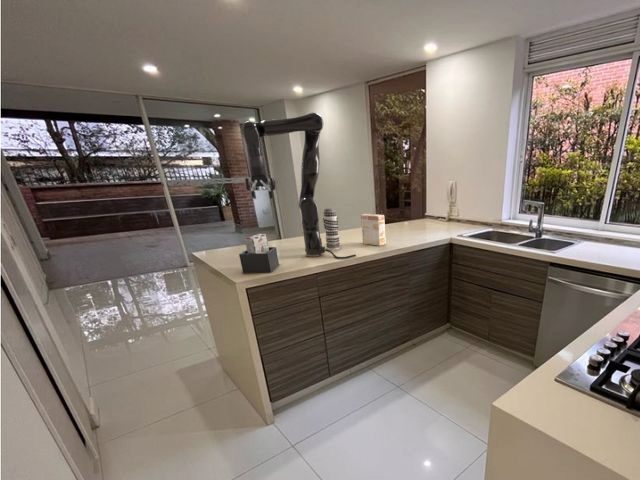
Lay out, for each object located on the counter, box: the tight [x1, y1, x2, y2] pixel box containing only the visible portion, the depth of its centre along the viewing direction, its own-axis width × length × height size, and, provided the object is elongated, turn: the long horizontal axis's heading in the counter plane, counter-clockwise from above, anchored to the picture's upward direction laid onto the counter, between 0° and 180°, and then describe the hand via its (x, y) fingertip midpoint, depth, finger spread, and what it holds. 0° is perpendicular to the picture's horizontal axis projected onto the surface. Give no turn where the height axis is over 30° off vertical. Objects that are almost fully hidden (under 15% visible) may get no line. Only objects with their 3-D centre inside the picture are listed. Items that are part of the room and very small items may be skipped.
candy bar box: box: [244, 233, 270, 254], centre depth 173 cm, size 11×5×16 cm, turn 169°
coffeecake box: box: [360, 213, 386, 247], centre depth 228 cm, size 15×7×20 cm, turn 58°
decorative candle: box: [322, 207, 341, 251], centre depth 214 cm, size 9×9×25 cm
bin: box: [238, 246, 280, 274], centre depth 175 cm, size 14×15×10 cm
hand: (263, 198), depth 182 cm, fingers open, 8 cm apart
